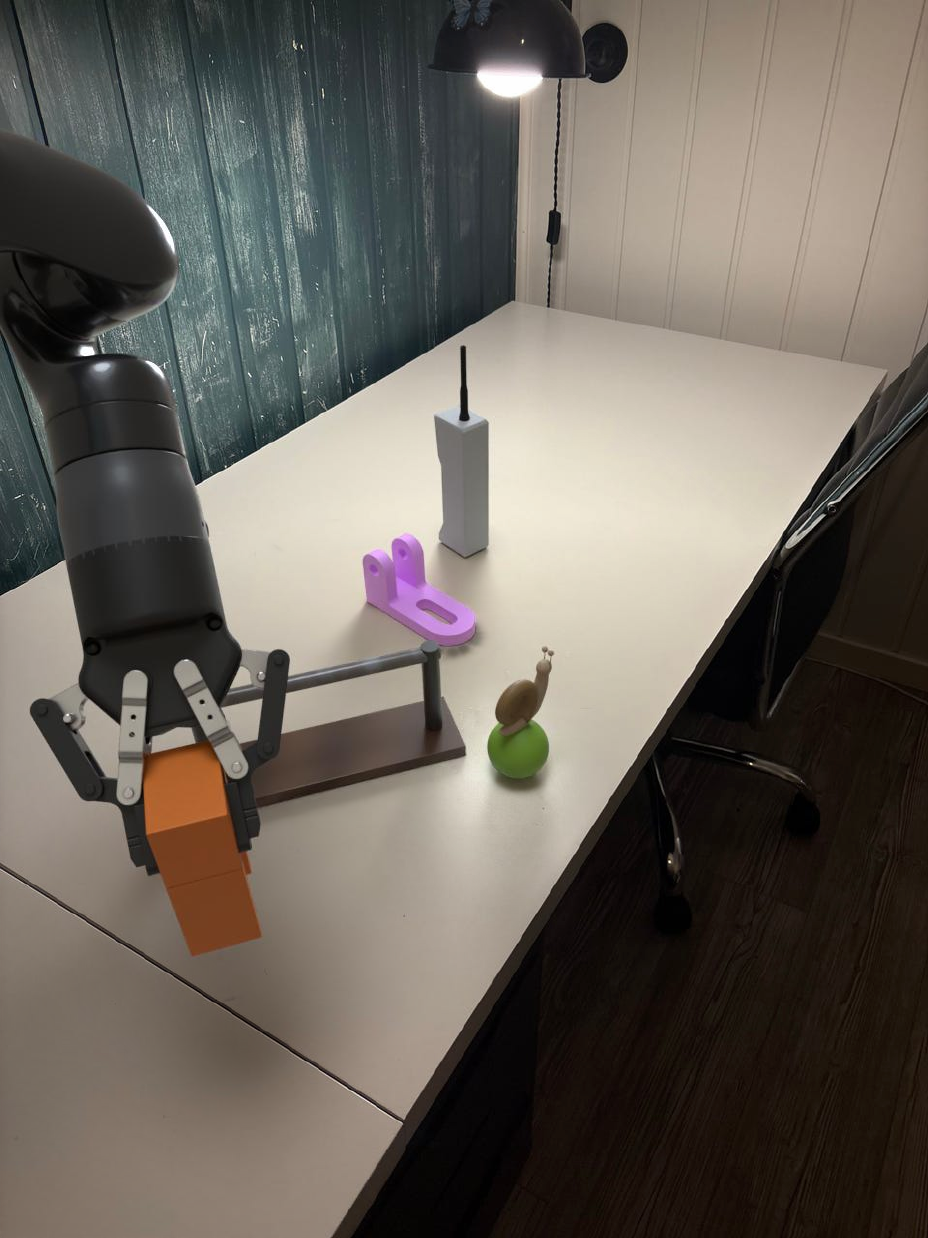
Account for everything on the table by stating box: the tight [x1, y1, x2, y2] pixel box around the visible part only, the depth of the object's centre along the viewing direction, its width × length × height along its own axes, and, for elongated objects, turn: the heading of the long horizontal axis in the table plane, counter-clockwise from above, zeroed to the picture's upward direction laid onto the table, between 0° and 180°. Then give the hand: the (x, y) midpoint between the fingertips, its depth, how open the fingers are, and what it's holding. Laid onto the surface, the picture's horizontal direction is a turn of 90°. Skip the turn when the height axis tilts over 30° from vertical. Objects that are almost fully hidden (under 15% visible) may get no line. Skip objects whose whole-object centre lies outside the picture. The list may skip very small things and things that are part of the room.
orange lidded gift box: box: [143, 740, 263, 957], centre depth 51 cm, size 4×6×11 cm
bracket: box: [362, 532, 476, 647], centre depth 98 cm, size 13×6×7 cm, turn 46°
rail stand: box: [190, 640, 467, 808], centre depth 80 cm, size 24×7×11 cm, turn 108°
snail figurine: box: [486, 645, 555, 780], centre depth 79 cm, size 5×6×12 cm
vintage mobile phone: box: [433, 344, 490, 558], centre depth 103 cm, size 4×5×25 cm
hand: (201, 859), depth 49 cm, fingers closed on orange lidded gift box, 4 cm apart
